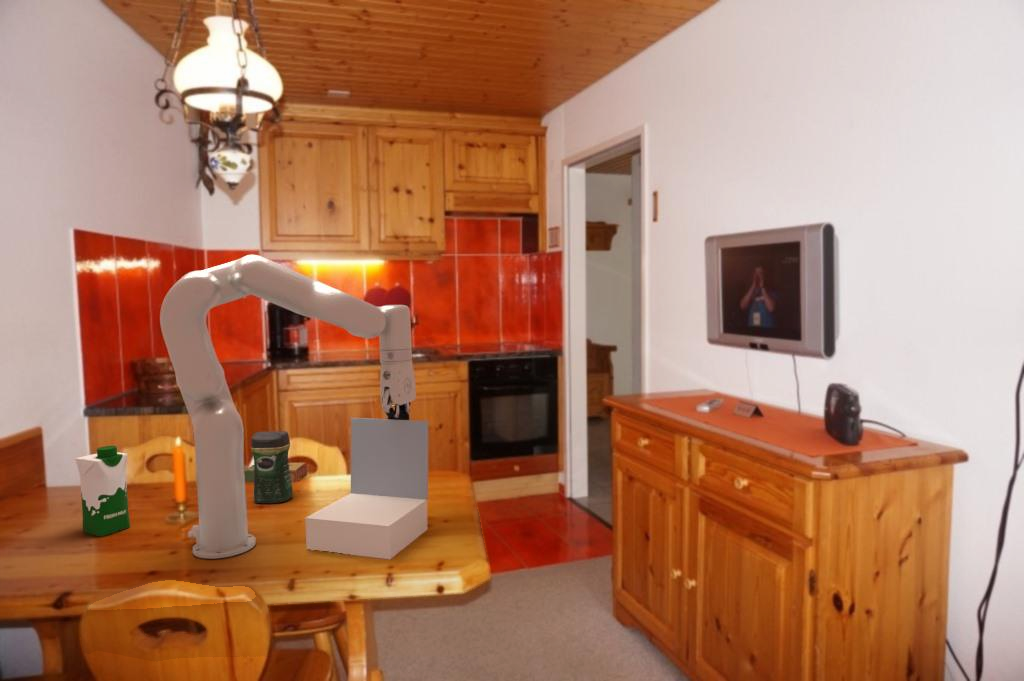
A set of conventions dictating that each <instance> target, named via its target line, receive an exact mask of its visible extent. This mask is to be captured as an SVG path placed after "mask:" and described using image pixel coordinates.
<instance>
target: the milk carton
mask: <svg viewBox="0 0 1024 681" xmlns="http://www.w3.org/2000/svg"><path fill="white" fill-rule="evenodd" d="M127 460H128V453H124V452H118V446H116V445H107V446H101V447H98V448H97V449H96V453H92V454H90V455H89V454H88V455H84V456H83V455H82V456H79V457H75V462H76V465H77V469H78V470H77V471H78V473H79V474H78V475H79V477H80V478H79V481H80V493H81V494H80V497H81V508H82V534H85V533H87V534H86V535H90V534H91V536H94V535H96V537H99V536H100V538H103V537H106V536H109V535H112V534H114V532H115V533H118V532H120V531H119V530H121V531H123V529H124V530H126V528H127V529H130V528H131V522H130V512H129V500H128V486H127V485H128V484H127V471H126V470H127V462H128V461H127ZM129 527H130V528H129ZM117 531H118V532H117ZM111 533H112V534H111ZM108 534H109V535H108ZM105 535H106V536H105ZM102 536H103V537H102Z"/></svg>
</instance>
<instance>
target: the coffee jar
mask: <svg viewBox="0 0 1024 681" xmlns="http://www.w3.org/2000/svg"><path fill="white" fill-rule="evenodd" d="M290 447H291V440H290V436H289V433H288V431H280V430H279V431H278V430H277V431H276V430H274V431H273V430H272V431H271V430H269V431H268V430H267V431H259V432H255V433H254V434H252V436H251V442H250V450H251V451H250V452H251V454H252V456H253V462H254V463H253V465H254V482H253V501H254V502H255V503H256V504H257V503H258V504H277V503H282V502H286V501H289V500H290V499H291V498H292V497H293V495H294V494H293V493H294V492H293V482H291V477H290V470H289V463H290V462H289V450H290Z"/></svg>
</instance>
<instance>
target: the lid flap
mask: <svg viewBox="0 0 1024 681" xmlns="http://www.w3.org/2000/svg"><path fill="white" fill-rule="evenodd" d="M350 493H353V494H365V495H377V496H389V497H401V498H413V499H425V500H427V501H428V500H429V420H412V419H411V420H410V419H409V420H393V419H386V418H364V417H351V418H350Z"/></svg>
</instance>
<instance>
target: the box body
mask: <svg viewBox="0 0 1024 681" xmlns="http://www.w3.org/2000/svg"><path fill="white" fill-rule="evenodd" d="M427 501H428V499H427V500H425V499H413V498H402V497H390V496H378V495H366V494H354V493H351V492H350V493H348V494H347V495H345V496H342V497H341V498H339V499H338V500H336V501H333V502H332V503H330V504H328V505H327V506H324V507H322V508H321V509H319V510H317V511H315V512H314V513H311V514H310V515H308V516H306V517H305V518H304V520H305V539H306V540H305V541H306V550H307V549H311V550H310V551H314V550H322V551H329V552H328V553H331V552H338V553H337V554H339V553H343V554H342V555H348V554H350V555H351V556H357V557H366V558H374V559H375V558H376V559H384V560H392V559H393V558H394V557H395V556H396V555H397V554H399V553H401V552H402V550H404V549H406V547H407V546H409V545H410V544H411V543H412V542H414V541H416V539H418V538H419V537H420V536H421V535H422V534H424V533H425V532H426V531H428V502H427ZM312 549H313V550H312ZM322 551H321V552H322ZM350 555H349V556H350Z"/></svg>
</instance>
